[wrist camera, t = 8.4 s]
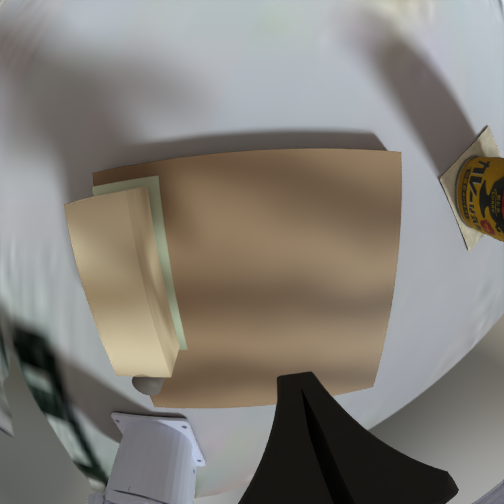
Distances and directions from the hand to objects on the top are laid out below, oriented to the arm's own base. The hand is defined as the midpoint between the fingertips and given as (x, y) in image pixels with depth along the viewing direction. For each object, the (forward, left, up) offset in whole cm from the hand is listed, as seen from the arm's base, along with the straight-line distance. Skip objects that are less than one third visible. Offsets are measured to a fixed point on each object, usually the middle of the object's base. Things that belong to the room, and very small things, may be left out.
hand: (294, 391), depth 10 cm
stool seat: (0, +1, -9) cm, 9 cm away
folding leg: (+2, +8, -7) cm, 11 cm away
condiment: (+7, -18, -9) cm, 21 cm away
